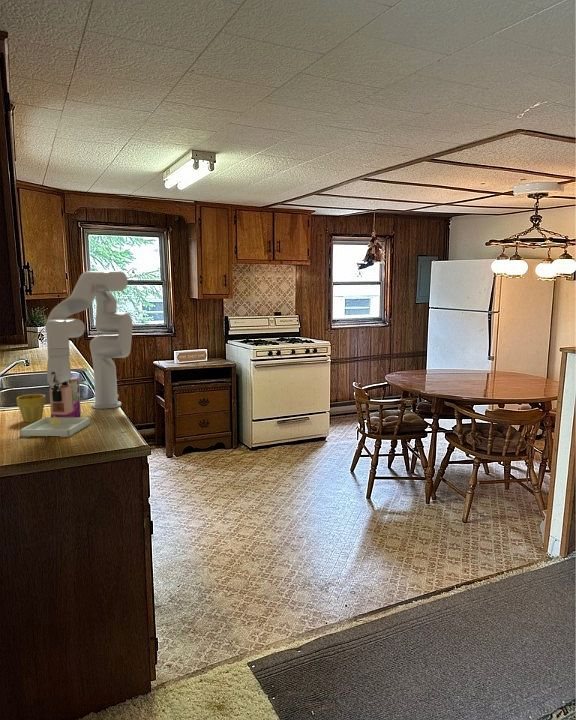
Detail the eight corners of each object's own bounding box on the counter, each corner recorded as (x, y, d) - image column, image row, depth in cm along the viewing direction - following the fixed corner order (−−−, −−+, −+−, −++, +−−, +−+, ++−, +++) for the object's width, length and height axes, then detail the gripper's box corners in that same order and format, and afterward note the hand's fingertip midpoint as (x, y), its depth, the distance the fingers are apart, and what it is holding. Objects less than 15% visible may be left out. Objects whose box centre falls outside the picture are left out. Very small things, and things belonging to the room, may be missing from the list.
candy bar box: (50, 420, 208) (48, 380, 206) (52, 417, 213) (49, 378, 210) (80, 418, 211) (78, 378, 209) (81, 415, 216) (79, 376, 214)
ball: (48, 420, 194) (54, 424, 195) (49, 423, 191) (55, 427, 193) (54, 414, 194) (60, 418, 196) (55, 416, 192) (61, 421, 193)
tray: (45, 423, 203) (45, 417, 203) (90, 423, 202) (90, 417, 202) (20, 436, 185) (19, 429, 185) (69, 436, 185) (69, 429, 184)
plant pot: (35, 424, 203) (33, 399, 201) (12, 423, 205) (10, 398, 203) (52, 417, 213) (50, 394, 211) (30, 416, 215) (28, 393, 213)
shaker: (58, 410, 201) (57, 385, 200) (73, 410, 201) (72, 385, 200) (50, 414, 195) (49, 388, 194) (66, 414, 195) (64, 388, 194)
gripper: (60, 350, 204) (62, 395, 206) (36, 355, 187) (40, 404, 189) (78, 350, 204) (81, 395, 206) (57, 355, 186) (60, 404, 189)
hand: (61, 399), depth 198 cm, fingers closed on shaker, 6 cm apart
